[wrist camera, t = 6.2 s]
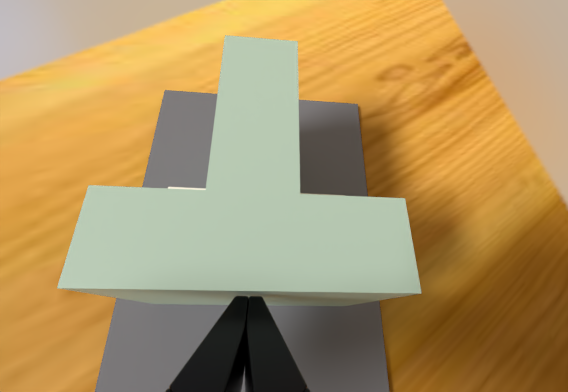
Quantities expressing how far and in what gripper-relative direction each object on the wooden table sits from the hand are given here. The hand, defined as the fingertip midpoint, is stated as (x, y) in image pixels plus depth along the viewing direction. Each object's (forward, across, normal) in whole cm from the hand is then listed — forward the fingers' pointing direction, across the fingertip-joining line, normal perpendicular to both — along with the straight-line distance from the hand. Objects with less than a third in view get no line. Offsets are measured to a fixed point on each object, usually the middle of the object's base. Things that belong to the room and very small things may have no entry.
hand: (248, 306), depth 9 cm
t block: (+8, 0, +1) cm, 9 cm away
